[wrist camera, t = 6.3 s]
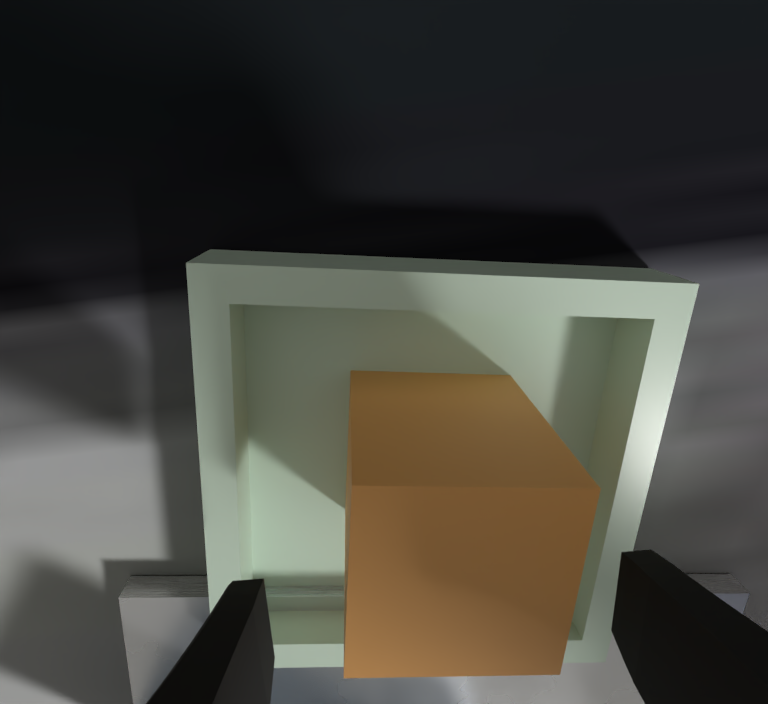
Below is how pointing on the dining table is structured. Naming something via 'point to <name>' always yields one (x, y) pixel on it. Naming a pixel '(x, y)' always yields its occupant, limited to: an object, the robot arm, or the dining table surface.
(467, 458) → the block
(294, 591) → the plate
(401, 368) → the tray
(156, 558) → the dining table surface
